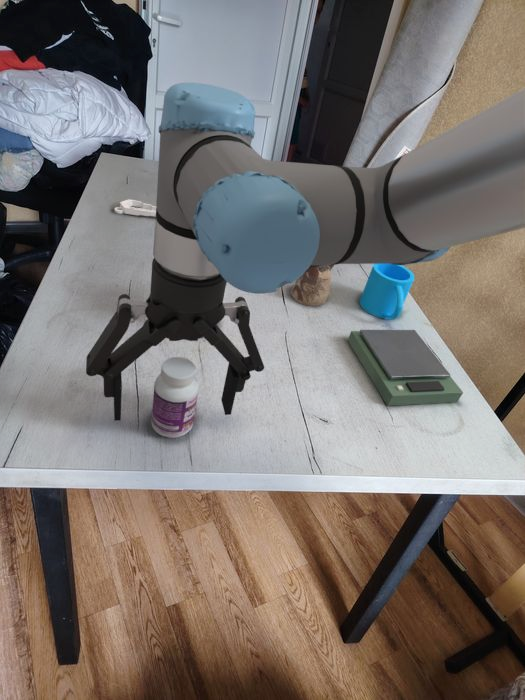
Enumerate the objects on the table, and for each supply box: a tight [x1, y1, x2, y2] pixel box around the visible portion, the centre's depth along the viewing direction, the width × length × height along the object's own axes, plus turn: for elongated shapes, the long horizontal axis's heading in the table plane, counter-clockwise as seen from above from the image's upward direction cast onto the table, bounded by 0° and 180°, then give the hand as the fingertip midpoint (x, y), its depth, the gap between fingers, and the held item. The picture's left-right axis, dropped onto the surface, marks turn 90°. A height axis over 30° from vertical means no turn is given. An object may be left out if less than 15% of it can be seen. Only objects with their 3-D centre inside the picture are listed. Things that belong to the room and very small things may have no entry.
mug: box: [359, 264, 415, 321], centre depth 92 cm, size 12×8×8 cm
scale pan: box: [359, 329, 451, 380], centre depth 79 cm, size 12×11×1 cm
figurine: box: [290, 264, 335, 307], centre depth 90 cm, size 7×7×12 cm
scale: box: [347, 330, 464, 407], centre depth 80 cm, size 16×13×3 cm
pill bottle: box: [150, 356, 200, 439], centre depth 59 cm, size 5×5×10 cm
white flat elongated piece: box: [114, 199, 156, 217], centre depth 108 cm, size 13×5×2 cm, turn 94°
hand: (173, 409), depth 60 cm, fingers open, 13 cm apart
